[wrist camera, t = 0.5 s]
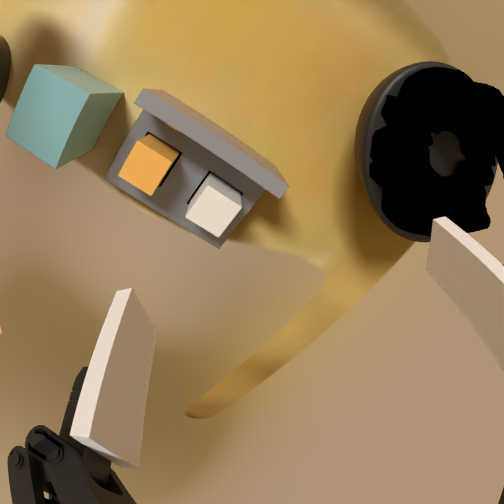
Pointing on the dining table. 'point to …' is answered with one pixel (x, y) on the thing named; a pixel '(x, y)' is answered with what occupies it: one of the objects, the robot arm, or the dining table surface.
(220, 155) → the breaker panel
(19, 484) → the robot arm
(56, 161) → the cover
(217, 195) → the plain button
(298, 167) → the dining table surface
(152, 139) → the tagged button
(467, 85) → the bowl of black rocks
